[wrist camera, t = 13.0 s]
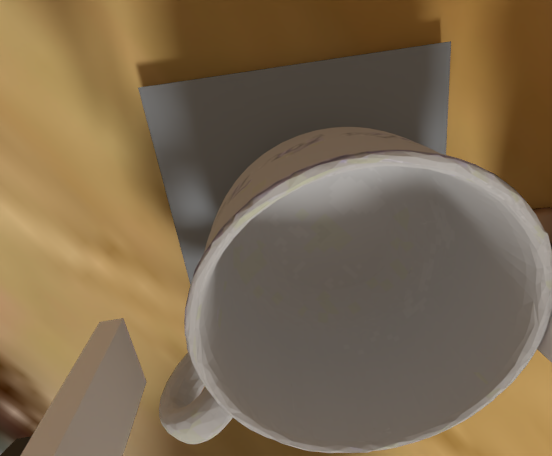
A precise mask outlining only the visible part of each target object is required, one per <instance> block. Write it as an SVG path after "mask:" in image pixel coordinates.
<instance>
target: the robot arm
mask: <svg viewBox="0 0 552 456" xmlns="http://www.w3.org/2000/svg"><path fill="white" fill-rule="evenodd" d="M537 349H538V350H539V351H540V352H541V353H542V354H543V355H544V356H545V357H546V358H547V359H548V360H550V361H551V362H552V311H551V315H550V318H549V322H548V325H547V328H546V331H545V333H544V336H543V338H542V340H541V342H540V344H539V346H538V348H537ZM145 385H146V379H145V377H144V374H143V371H142V368H141V366H140V363H139V360H138V357H137V355H136V352H135V349H134V346H133V344H132V341H131V338H130V335H129V333H128V330H127V327H126V324H125V322H124V319H123V318H121V319H115V320H109V321H103V322H99V324H98V326H97V327H96V329H95V331H94V332H93V334H92V336H91V337H90V339H89V341H88V342H87V344H86V346H85V348H84V349H83V351H82V353H81V354H80V356H79V358H78V359H77V361H76V363H75V364H74V366H73V368H72V369H71V371H70V373H69V375H68V376H67V378H66V380H65V381H64V383H63V385H62V386H61V388H60V390H59V391H58V393H57V395H56V396H55V398H54V400H53V402H52V403H51V405H50V407H49V408H48V410H47V412H46V413H45V415H44V417H43V418H42V420H41V422H40V423H39V425H38V427H37V428H36V430H35V432H34V434H33V435H32V436H31V437H25V438H19V439H16V440H15V441H14V442H13V443H12V444H11V445H10V446H9V447H8V448H7V449H6V450H5V451H4V452H3V453H2V454H1V455H0V456H123V453H124V450H125V447H126V444H127V441H128V438H129V435H130V431H131V428H132V425H133V422H134V419H135V416H136V413H137V410H138V407H139V403H140V400H141V397H142V394H143V391H144V388H145Z"/></svg>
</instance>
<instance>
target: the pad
mask: <svg viewBox="0 0 552 456" xmlns="http://www.w3.org/2000/svg"><path fill="white" fill-rule="evenodd" d="M450 53H451V42H444V43H437V44H430V45H424V46H417V47H410V48H403V49H397V50H390V51H383V52H376V53H370V54H363V55H356V56H349V57H343V58H336V59H329V60H322V61H316V62H309V63H302V64H296V65H289V66H282V67H275V68H269V69H262V70H255V71H248V72H242V73H235V74H228V75H221V76H215V77H208V78H201V79H194V80H188V81H181V82H174V83H167V84H161V85H154V86H147V87H140V88H138V89H139V92H140V96H141V100H142V104H143V107H144V111H145V115H146V119H147V123H148V126H149V130H150V134H151V138H152V141H153V145H154V149H155V153H156V156H157V160H158V164H159V168H160V171H161V175H162V179H163V183H164V187H165V190H166V194H167V198H168V202H169V205H170V209H171V213H172V217H173V220H174V224H175V228H176V232H177V235H178V239H179V243H180V247H181V250H182V254H183V258H184V262H185V266H186V269H187V273H188V277H189V281H190V284H191V282H192V279H193V275H194V271H195V268H196V266H197V265H198V263H199V261H200V259H201V257H202V256H203V254H204V251H205V247H206V244H207V241H208V237H209V234H210V231H211V228H212V225H213V222H214V220H215V218H216V215H217V213H218V210H219V208H220V206H221V204H222V202H223V200H224V198H225V196H226V195H227V193H228V192H229V190H230V189H231V187H232V186H233V184H234V183H235V181H236V180H237V179H238V178H239V177H240V175H241V174H242V173H243V172H244V171H245V170H246V169H247V168H248V167H249V166H250V165H251V164H252V163H253V162H254V161H256V160H257V159H258V158H259V157H260V156H262V155H263V154H264V153H266V152H267V151H269V150H271V149H272V148H274V147H275V146H277V145H279V144H280V143H282V142H285V141H287V140H289V139H292V138H294V137H296V136H299V135H302V134H305V133H308V132H312V131H316V130H321V129H327V128H335V127H361V128H370V129H375V130H380V131H385V132H388V133H392V134H395V135H398V136H401V137H404V138H406V139H409V140H411V141H414V142H416V143H418V144H421V145H423V146H425V147H428V148H430V149H432V150H434V151H436V152H438V153H440V154H444V155H446V140H447V118H448V96H449V75H450Z"/></svg>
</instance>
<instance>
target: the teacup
mask: <svg viewBox="0 0 552 456" xmlns="http://www.w3.org/2000/svg"><path fill="white" fill-rule="evenodd" d="M551 311H552V249H551V245H550V240H549V236H548V233H547V232H546V231H545V230H544V228H543V226H542V224H541V222H540V221H539V219H538V217H537V215H536V214H535V212H534V211H533V210H532V209H531V207H530V206H529V205H528V203H527V202H526V201H525V200H524V199H523V198H522V196H521V195H520V194H519V193H518V192H517V191H516V190H515V189H514V188H512V187H511V186H510V185H508V184H507V183H506V182H505V181H503V180H502V179H500V178H499V177H498V176H496V175H495V174H493V173H491V172H489V171H487V170H485V169H483V168H481V167H479V166H477V165H475V164H472V163H470V162H467V161H464V160H462V159H459V158H455V157H451V156H448V155H444V154H440V153H438V152H436V151H434V150H432V149H430V148H428V147H425V146H423V145H421V144H418V143H416V142H414V141H411V140H409V139H406V138H404V137H401V136H398V135H395V134H392V133H388V132H385V131H380V130H375V129H370V128H361V127H335V128H327V129H321V130H316V131H312V132H308V133H305V134H302V135H299V136H296V137H294V138H292V139H289V140H287V141H285V142H282V143H280V144H279V145H277V146H275V147H274V148H272V149H271V150H269V151H267V152H266V153H264V154H263V155H262V156H260V157H259V158H258V159H257V160H256V161H254V162H253V163H252V164H251V165H250V166H249V167H248V168H247V169H246V170H245V171H244V172H243V173H242V174H241V175H240V177H239V178H238V179H237V180H236V181H235V183H234V184H233V186H232V187H231V189H230V190H229V192H228V193H227V195H226V196H225V198H224V200H223V202H222V204H221V206H220V208H219V210H218V213H217V215H216V218H215V220H214V222H213V225H212V228H211V231H210V234H209V237H208V241H207V244H206V247H205V251H204V254H203V256H202V257H201V259H200V261H199V263H198V265H197V266H196V268H195V271H194V275H193V279H192V282H191V286H190V290H189V294H188V298H187V303H186V308H185V336H186V341H187V350H188V353H187V354H186V355H185V356H184V358H183V359H182V360H181V361H180V363H179V364H178V365H177V366H176V368H175V370H174V371H173V373H172V375H171V376H170V378H169V380H168V381H167V384H166V386H165V388H164V391H163V393H162V395H161V400H160V406H159V417H160V420H161V423H162V425H163V427H164V428H165V429H166V431H167V432H168V433H169V434H171V435H172V436H173V437H175V438H176V439H178V440H179V441H182V442H184V443H187V444H199V443H202V442H205V441H208V440H210V439H211V438H213V437H214V436H216V435H217V434H218V433H219V432H220V431H222V430H223V429H224V428H225V426H226V425H227V424H228V423H229V422H230V421H231V419H232V418H234V419H236V420H237V421H238V422H240V423H241V424H242V425H244V426H245V427H247V428H248V429H250V430H252V431H254V432H256V433H258V434H260V435H262V436H265V437H267V438H269V439H273V440H276V441H278V442H279V443H281V444H285V445H288V446H292V447H295V448H298V449H302V450H307V451H313V452H324V453H365V452H371V451H375V450H386V449H390V448H395V447H399V446H403V445H406V444H410V443H414V442H417V441H420V440H423V439H426V438H429V437H431V436H434V435H437V434H439V433H441V432H443V431H445V430H448V429H450V428H452V427H454V426H455V425H457V424H459V423H461V422H463V421H464V420H466V419H468V418H469V417H471V416H472V415H474V414H475V413H477V412H478V411H479V410H481V409H482V408H484V407H485V406H486V405H488V404H489V403H490V402H492V401H493V400H494V399H495V398H496V397H497V396H498V395H499V394H500V393H502V392H503V391H504V390H505V389H506V388H507V387H508V386H509V385H510V384H511V383H512V382H513V381H514V380H515V379H516V378H517V376H518V375H519V374H520V373H521V371H522V370H523V369H524V368H525V367H526V365H527V364H528V362H529V361H530V359H531V358H532V356H533V355H534V353H535V351H536V349H537V348H538V346H539V344H540V342H541V340H542V338H543V336H544V333H545V331H546V328H547V325H548V322H549V318H550V315H551ZM204 386H205V388H204ZM203 388H204V390H203ZM202 390H203V391H202Z"/></svg>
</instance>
